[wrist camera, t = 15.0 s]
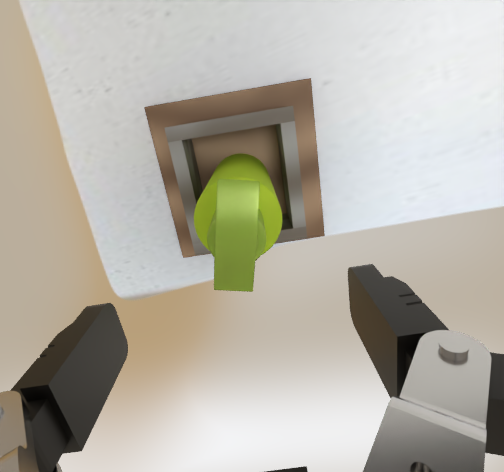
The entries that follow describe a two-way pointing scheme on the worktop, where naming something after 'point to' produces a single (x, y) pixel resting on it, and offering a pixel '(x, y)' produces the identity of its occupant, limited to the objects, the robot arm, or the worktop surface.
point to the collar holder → (241, 141)
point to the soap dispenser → (238, 219)
